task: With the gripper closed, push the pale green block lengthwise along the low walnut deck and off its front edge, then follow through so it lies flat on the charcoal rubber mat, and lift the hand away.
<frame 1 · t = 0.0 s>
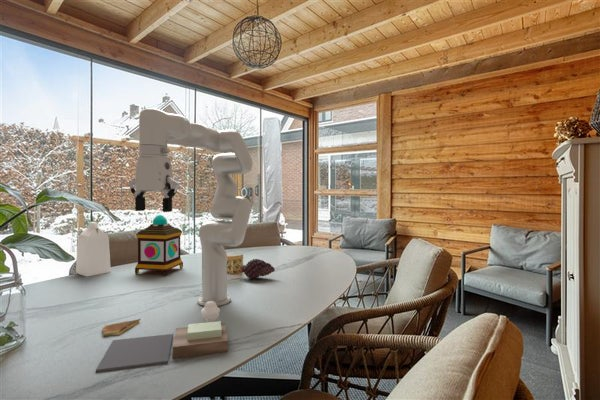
hand: (153, 211, 97), 37 cm above the table, tool pointing down, fingers open, 9 cm apart
shard: (117, 330, 103), on the table
decorative lantern: (159, 271, 174), on the table
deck: (200, 344, 93), on the table
mat: (138, 351, 88), on the table
pine cone: (256, 279, 162), on the table
pale green block: (204, 330, 93), point 4 cm above the table, touching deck
milk: (93, 272, 170), on the table
white swirled ornament: (210, 322, 109), on the table
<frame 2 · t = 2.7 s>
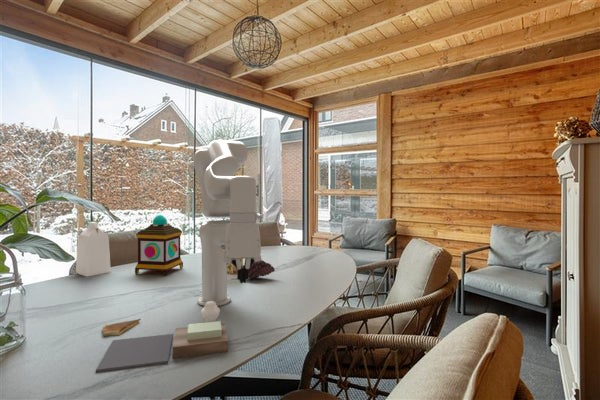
hand: (242, 281, 95), 17 cm above the table, tool pointing down, fingers closed
nothing on the table moved.
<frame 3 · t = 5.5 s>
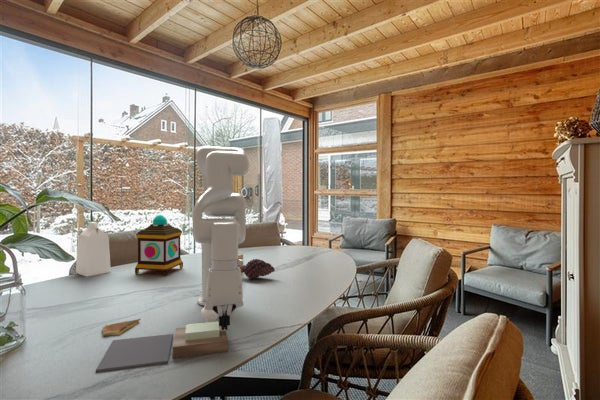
hand: (224, 327, 95), 4 cm above the table, tool pointing down, fingers closed
pale green block: (202, 330, 93), point 4 cm above the table, touching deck, gripper
everything else where it was.
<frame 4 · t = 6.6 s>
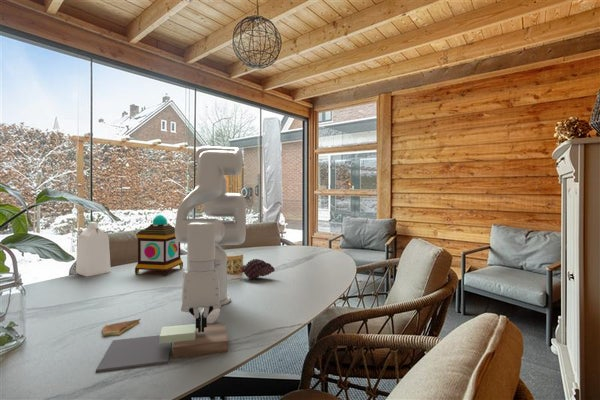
hand: (201, 330, 93), 4 cm above the table, tool pointing down, fingers closed
pale green block: (178, 333, 91), point 4 cm above the table, touching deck, gripper
everything else where it was.
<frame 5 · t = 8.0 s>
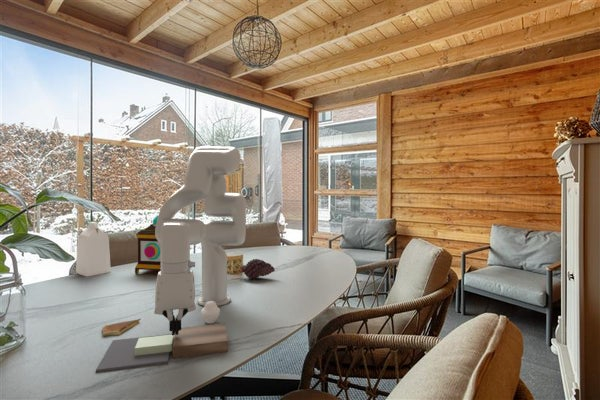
hand: (175, 332, 91), 4 cm above the table, tool pointing down, fingers closed
pale green block: (155, 344, 89), point 2 cm above the table, touching mat
everything else where it was.
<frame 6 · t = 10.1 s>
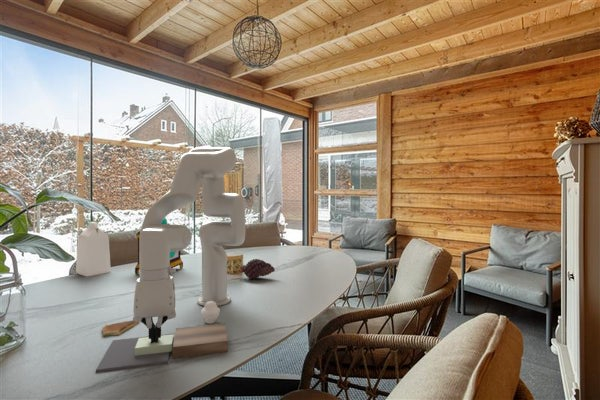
hand: (154, 340, 89), 3 cm above the table, tool pointing down, fingers closed
pale green block: (155, 344, 89), point 2 cm above the table, touching gripper, mat
everything else where it was.
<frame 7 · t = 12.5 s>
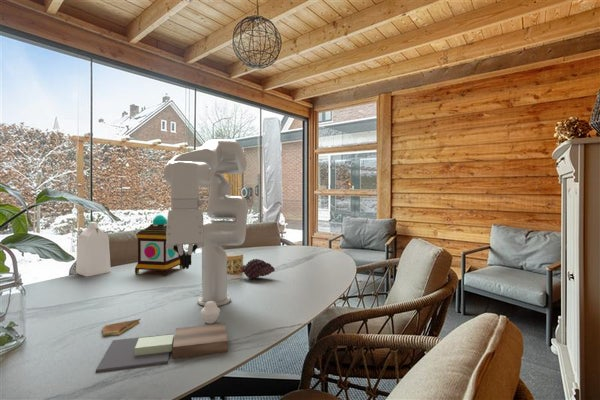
hand: (185, 267, 95), 21 cm above the table, tool pointing down, fingers closed
pale green block: (155, 344, 89), point 2 cm above the table, touching mat
everything else where it was.
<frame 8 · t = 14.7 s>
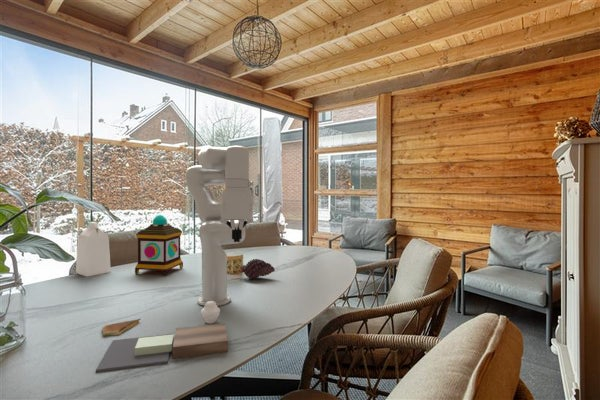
hand: (236, 241, 107), 27 cm above the table, tool pointing down, fingers closed
nothing on the table moved.
at the end: pale green block inside the target area (3.9 cm from its centre), point 1.6 cm above the table; pale green block touching mat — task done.
